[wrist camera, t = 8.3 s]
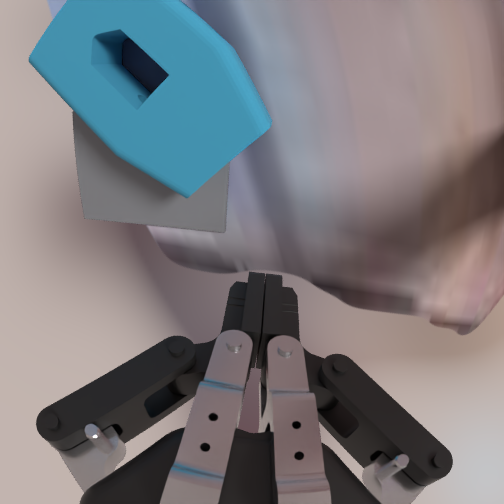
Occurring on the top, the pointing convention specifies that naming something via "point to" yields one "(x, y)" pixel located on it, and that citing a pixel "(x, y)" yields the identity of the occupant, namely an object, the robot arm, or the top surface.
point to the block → (164, 97)
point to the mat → (141, 190)
